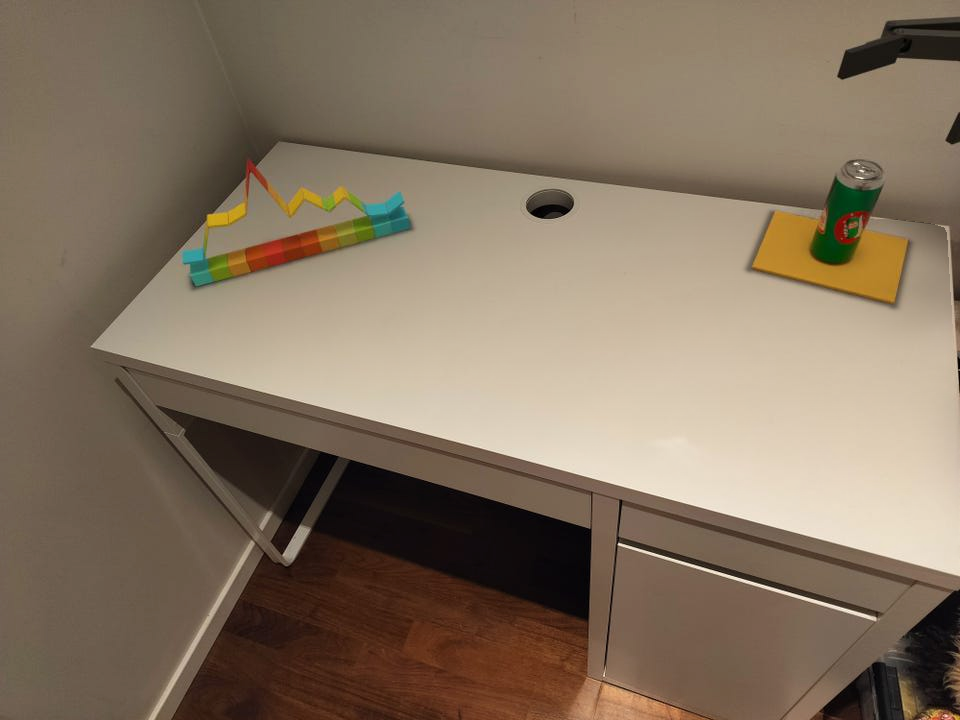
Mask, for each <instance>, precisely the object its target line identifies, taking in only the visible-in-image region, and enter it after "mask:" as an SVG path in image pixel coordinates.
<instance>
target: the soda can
mask: <svg viewBox="0 0 960 720" xmlns="http://www.w3.org/2000/svg"><path fill="white" fill-rule="evenodd" d="M885 182H886V178H885V169H884V167H883V166H882V165H880V164H879V163H878V162H876V161H874V160H870V159H867V158H866V159H865V158H854V159H849V160H847V161H845V162H844V163H843V164H842V165H841V167H840V168H839V169H837V170H836V171H835V175H834V177H833V180H832V183H831V185H830V188H829V191H828V194H827V197H826V199H825V202H824V205H823V207H822V211H821V214H820V216H819V219H818V220H819V222H818V225H817V227H816V230H815V233H814V236H813V239H812V241H811V244H810V248H811V251H812V252H813V254H814V255H815V256H816V257H817V258H818V259H819V260H821V261H824V262H827V263H832V264H837V263H842V262H845V261H848V260H850V259H851V258H852V257H853V256H854V254H855V251H856V249H857V247H858V244H859V242H860V240H861V237H862V235H863V233H864V230H866V228H867V225H868V223H869V221H870V218H871V216H872V215H873V214H872V213H873V211H874V209H875V207H876V205H877V202H878V200H879V197H880V195H881V192H882V190H883V188H884V186H885V184H886V183H885Z"/></svg>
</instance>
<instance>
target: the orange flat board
mask: <svg viewBox="0 0 960 720" xmlns="http://www.w3.org/2000/svg"><path fill="white" fill-rule="evenodd" d="M818 222H819V219H815V218H811V217H807V216H802V215H797V214H792V213H788V212H784V211H779V210H775V211H774V213H773V215H772V217H771V220H770V222H769V225H768V227H767V230H766V232H765V235H764V237H763V238H762V241H761V244H760V245H759V246H760V247H759V249H758V251H757V253H756V256H755V258H754V261H753V263H752V265H751V270H755V271H759V272H763V273H767V274H771V275H775V276H778V277H783V278H787V279H790V280H795V281H799V282H803V283H807V284H810V285H815V286H819V287H823V288H827V289H831V290H834V291H838V292H843V293H848V294H850V295H855V296H858V297H862V298H866V299H871V300H874V301H879V302H883V303H887V304H890V305H894V304H895V302H896V297H897V292H898V288H899V283H900V279H901V275H902V271H903V266H904V262H905V257H906V253H907V248H908V245H909V244H908V243H909V238H903V237H899V236H895V235H889V234H886V233H880V232H876V231H875V232H874V231H871V230H866V229H865V230H864V233H863V235H862V237H861V240H860V242H859V244H858V247H857V249H856V251H855V254H854V256H853V257H852V258H851V259H850V260H848V261H845V262H842V263H837V264H832V263H827V262H824V261H821V260H819V259H818V258H817V257H816V256H815V255H814V254H813V252H812V251H811V248H810V244H811V241H812V239H813V236H814V233H815V230H816V227H817V225H818Z"/></svg>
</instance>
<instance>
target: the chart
mask: <svg viewBox="0 0 960 720" xmlns="http://www.w3.org/2000/svg"><path fill="white" fill-rule="evenodd" d="M251 174H252V175H253V176H254V177H255V178H256V180H257V181H258V182H259V183H260V184H261V186H262V187H263V188H264V189H265V190H266V191H267V193H268V194H269V196H271V198H272V199H273V200H274V202H276V203H277V205H278V206H279V207H280V208H281V209H282V210H283V212H284V213H285V214H286V215H287V216H288V218H289V219H292V218H293V217H294V216H295V214H296V213H297V211H298V210H299V209H300V208H301V207H302V205H303V203H304V202H305V201H306V202H307V203H309V204H311V205H313V206H315V207H317V208H319V209H321V210H324V211H325V212H326V213H332V211H334V210H335V209H336V208H337V207H338V206H339V205H340V204H341V203H343V202H344V201H345V200H346V201H348V202H349V203H350V204H352V205H353V206H354V207H355V208H357V209H358V210H359V211H360V212H362V213H364V214H365V215H363V216H360V217H356V218H352V219H349V220H344V221H342V222H338V223H334V224H330V225H328V226H323V227H319V228H315V229H312V230H309V231H303V232H300V233H296V234H293V235H289V236H285V237H281V238H278V239H275V240H274V239H273V240H271V241H267V242H263V243H260V244H256V245H251V246H249V247H245V248H241V249H237V250H233V251H230V252H226V253H221V254H218V255H213V256H210V257H206V255H207V249H208V248H207V247H208V240H209V232H210V229H215V228H225V227H230V226H232V225H234V224H236V223H237V222H239V221H241V220H242V219H244V218H245V217H248V204H249V190H250V179H251V178H250V177H251V176H250V175H251ZM244 187H245V188H244V200H243V202H242V203H240V204H239V205H237V206H235V207H234V208H232V209H231V210H229V211H226V212H218V213H217V212H216V213H208V214H206V221H205V229H204V237H203V243H202V247H201V248H193V249H186V250H182V253H181V255H182V257H181V258H182V265H183V266H187V265H189V276H190V278H191V280H192V282H193V283H194V285H195V287H199V286H203V285H207V284H210V283H214V282H219V281H223V280H226V279H230V278H233V277H237V276H241V275H244V274H249V273H252V272H256V271H259V270H264V269H266V268H270V267H274V266H278V265H280V264H281V265H282V264H285V263H288V262H293V261H297V260H300V259H304V258H306V257H310V256H311V257H312V256H315V255H319V254H321V253H325V252H330V251H332V250H337V249H340V248H344V247H348V246H352V245H354V244H359V243H362V242H365V241H370V240H373V239H376V238H377V239H378V238H380V237H384V236H387V235H392V234H395V233H399V232H402V231H406V230H410V229H411V226H410V225H411V224H410V221H409V216H408V214H407V212H406V209H405V206H404V205H405V200H404V197H403V194H402V192H401V190H399V191H397V192H396V193H395V194H393V195H392V196H391V197H389V198H388V199H387V200H386V201H385V202H379V203H378V202H377V203H369V204H367V203H365V202H364V201H362V200H361V199H359V198H358V197H357V196H355V195H354V194H353V193H352V192H350V191H349V190H347V189H346V188H345V187H344V186H339V187H338V188H337V189H336V190H335V191H334V192H333V193H332V194H330V195H329V196H328V197H327V198H324V197H322V196H320V195H318V194H316V193H313V192H312V191H310V190H309V189H306V188H304V187H300V188H299V190H298V191H297V192H296V194H295V195H294V196H293V198H292V199H291V200H290V202H289V203H288V204H287V203H286V202H285V201H284V199H283V198H282V197H281V196H280V194H278V192H277V191H276V190H275V188H274V187H273V186H272V185H271V183H270V182H269V181H268V180H267V179H266V177H264V175H263V174H262V173H261V171H260V170H259V169H258V168H257V167H256V165H254V163H253V162H252V161H251V159H250V158H249V157H247V159H246V172H245V186H244Z"/></svg>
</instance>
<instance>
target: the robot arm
mask: <svg viewBox="0 0 960 720" xmlns="http://www.w3.org/2000/svg"><path fill="white" fill-rule="evenodd" d="M897 59H909V60H910V59H911V60H926V61H927V60H928V61H929V60H930V61H945V62H946V61H947V62H959V63H960V16H946V17H943V16H942V17H932V18H931V17H929V18H928V17H927V18H909V19H894V20H893V19H891V20H886V21H885V23H884V26H883V28H882V32H881V35H880V37H879V38H876V39H873V40H869V41H867V42H865V43H864V44H861V45H858V46H855V47H851V48H848V49H845V50H844V52H843V56H842V59H841V63H840V66H839V69H838V72H837V75H836V78H838V79H840V80H841V81H843V80H847V79H850V78H853V77H856V76H860V75H862V74H866V73H869V72H871V71H875V70H878V69H881V68H885V67H888V66H891V65H894V64H896V63H897ZM944 142H946V143H948V144H949V145H951V146H953V145H956V144H958V143H960V111H959V112H958V113H957V115H956V117H955V119H954V121H953V123H952V125H951V127H950V129H949V131H948V133H947V136H946V138H945V140H944Z"/></svg>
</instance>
